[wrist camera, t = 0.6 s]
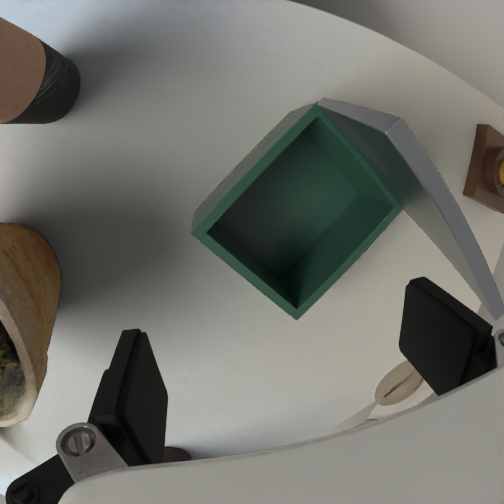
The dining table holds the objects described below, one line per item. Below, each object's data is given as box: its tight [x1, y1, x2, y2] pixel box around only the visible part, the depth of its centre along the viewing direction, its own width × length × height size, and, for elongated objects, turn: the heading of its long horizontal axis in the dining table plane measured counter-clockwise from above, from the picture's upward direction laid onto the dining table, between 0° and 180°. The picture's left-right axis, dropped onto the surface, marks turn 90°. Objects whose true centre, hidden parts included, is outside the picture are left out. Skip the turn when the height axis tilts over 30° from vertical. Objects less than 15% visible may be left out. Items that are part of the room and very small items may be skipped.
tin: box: [191, 102, 403, 320], centre depth 28 cm, size 14×12×8 cm
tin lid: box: [316, 98, 504, 321], centre depth 17 cm, size 14×12×1 cm
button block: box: [463, 124, 504, 214], centre depth 32 cm, size 10×8×4 cm
